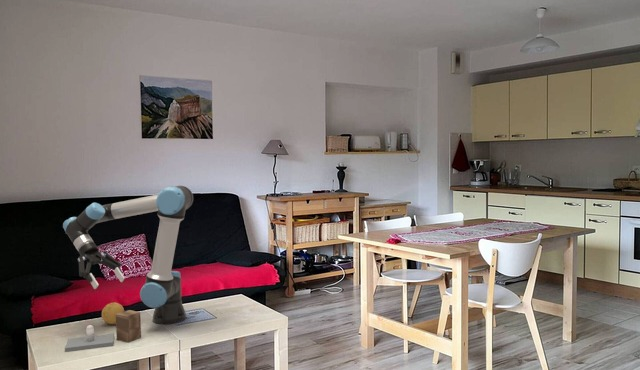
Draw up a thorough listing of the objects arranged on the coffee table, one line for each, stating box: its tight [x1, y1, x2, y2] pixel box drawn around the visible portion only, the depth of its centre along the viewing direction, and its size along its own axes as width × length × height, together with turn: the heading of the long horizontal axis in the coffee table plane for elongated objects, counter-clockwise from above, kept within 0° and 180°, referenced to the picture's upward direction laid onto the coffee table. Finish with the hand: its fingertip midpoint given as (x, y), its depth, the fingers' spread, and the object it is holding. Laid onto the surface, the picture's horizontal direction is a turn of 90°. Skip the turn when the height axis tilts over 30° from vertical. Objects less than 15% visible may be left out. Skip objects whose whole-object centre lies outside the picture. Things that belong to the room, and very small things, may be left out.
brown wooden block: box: [115, 309, 142, 343], centre depth 227 cm, size 7×7×11 cm
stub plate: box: [64, 324, 115, 353], centre depth 222 cm, size 18×12×8 cm, turn 109°
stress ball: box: [101, 302, 125, 325], centre depth 249 cm, size 10×10×10 cm
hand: (110, 283), depth 232 cm, fingers open, 13 cm apart
